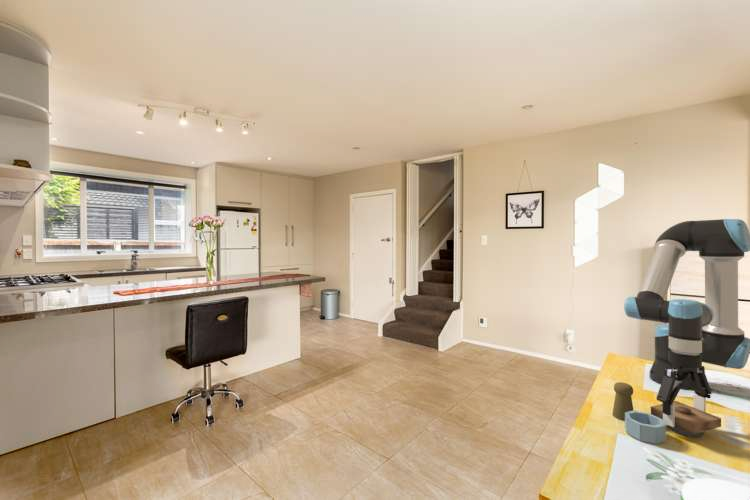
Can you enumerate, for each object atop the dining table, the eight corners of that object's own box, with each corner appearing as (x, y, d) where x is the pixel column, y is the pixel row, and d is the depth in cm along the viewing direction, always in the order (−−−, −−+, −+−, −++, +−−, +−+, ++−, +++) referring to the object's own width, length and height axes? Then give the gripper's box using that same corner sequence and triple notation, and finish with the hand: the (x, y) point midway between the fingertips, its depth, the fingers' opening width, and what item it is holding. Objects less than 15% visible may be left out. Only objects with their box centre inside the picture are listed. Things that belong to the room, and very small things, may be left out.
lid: (676, 408, 110) (676, 397, 110) (720, 426, 99) (721, 414, 99) (650, 414, 107) (650, 403, 107) (694, 434, 96) (694, 421, 96)
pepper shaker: (639, 422, 108) (639, 388, 108) (617, 420, 109) (617, 387, 109) (628, 413, 114) (628, 380, 114) (608, 411, 115) (608, 379, 115)
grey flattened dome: (678, 421, 108) (678, 411, 108) (709, 434, 101) (709, 424, 100) (660, 425, 106) (660, 416, 106) (691, 439, 98) (691, 429, 98)
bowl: (639, 424, 107) (639, 409, 106) (672, 440, 98) (672, 423, 98) (618, 430, 104) (618, 413, 104) (649, 446, 95) (649, 429, 95)
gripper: (697, 343, 110) (697, 408, 110) (641, 351, 103) (641, 421, 103) (727, 350, 103) (726, 420, 103) (669, 359, 95) (669, 434, 96)
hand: (684, 421), depth 103 cm, fingers open, 13 cm apart
